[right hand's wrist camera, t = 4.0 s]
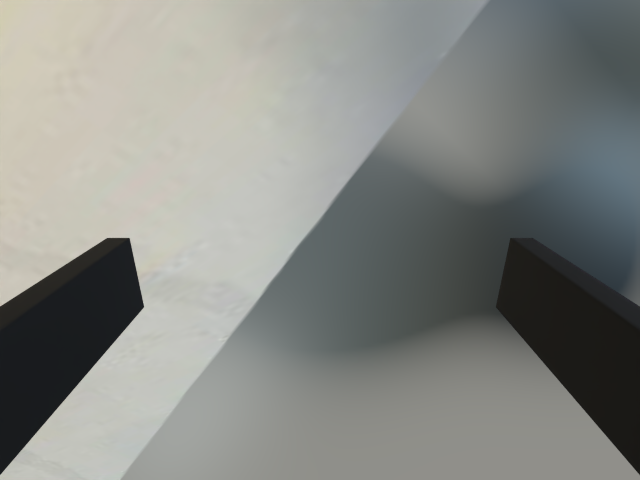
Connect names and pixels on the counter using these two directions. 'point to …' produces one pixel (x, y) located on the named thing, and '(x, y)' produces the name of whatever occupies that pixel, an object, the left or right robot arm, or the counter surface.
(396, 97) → the counter surface
